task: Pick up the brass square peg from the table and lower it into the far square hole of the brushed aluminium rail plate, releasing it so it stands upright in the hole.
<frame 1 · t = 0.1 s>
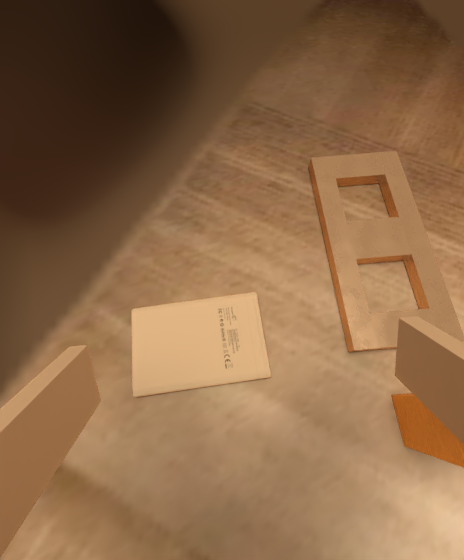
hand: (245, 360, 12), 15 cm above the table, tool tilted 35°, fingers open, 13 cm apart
rail plate: (371, 244, 31), on the table
external hard drive: (200, 343, 28), on the table
brass peg: (420, 417, 25), on the table
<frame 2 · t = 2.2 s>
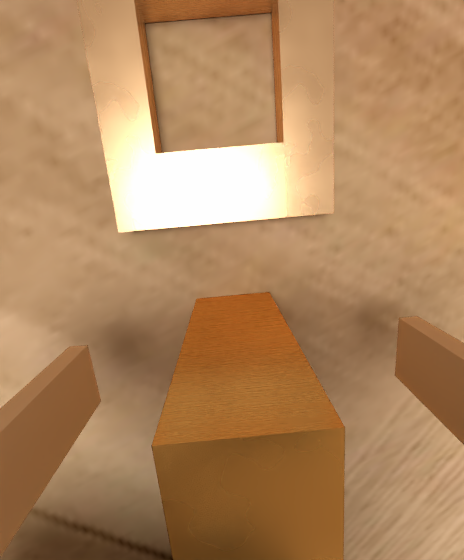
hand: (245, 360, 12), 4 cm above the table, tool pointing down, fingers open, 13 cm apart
brass peg: (235, 329, 16), on the table
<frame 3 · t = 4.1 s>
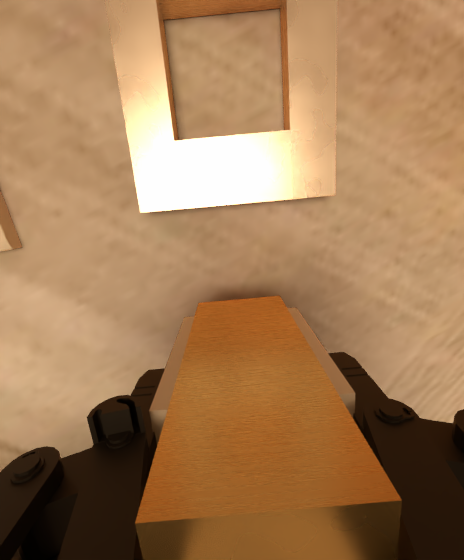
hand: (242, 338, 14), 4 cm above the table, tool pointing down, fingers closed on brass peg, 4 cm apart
brass peg: (242, 336, 14), point 3 cm above the table, touching gripper
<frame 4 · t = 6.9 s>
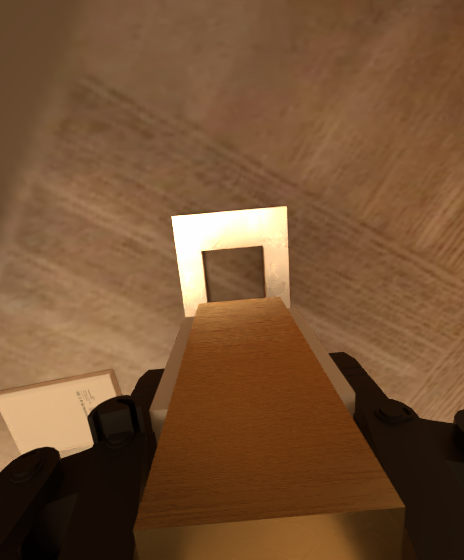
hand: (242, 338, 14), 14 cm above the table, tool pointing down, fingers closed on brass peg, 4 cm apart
rail plate: (238, 322, 29), on the table
external hard drive: (73, 407, 32), on the table
brass peg: (242, 337, 14), point 14 cm above the table, touching gripper
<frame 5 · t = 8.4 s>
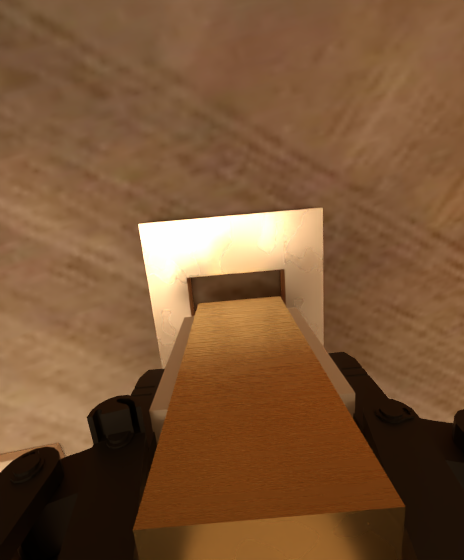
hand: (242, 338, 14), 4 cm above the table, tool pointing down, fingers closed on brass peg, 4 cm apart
rail plate: (244, 378, 19), on the table
external hard drive: (7, 491, 22), on the table
brass peg: (242, 337, 14), point 4 cm above the table, touching gripper
when the fingers open (3 cm above the table, at t = 9.7 s): brass peg drops 2 cm, resting in rail plate.
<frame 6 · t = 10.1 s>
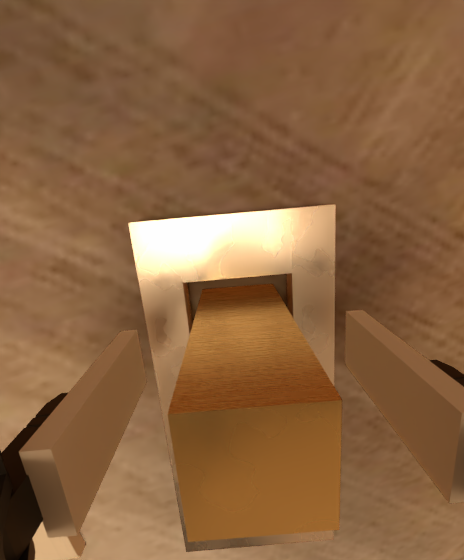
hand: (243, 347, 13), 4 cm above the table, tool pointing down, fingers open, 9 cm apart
rail plate: (246, 391, 18), on the table
brass peg: (240, 319, 17), resting in rail plate
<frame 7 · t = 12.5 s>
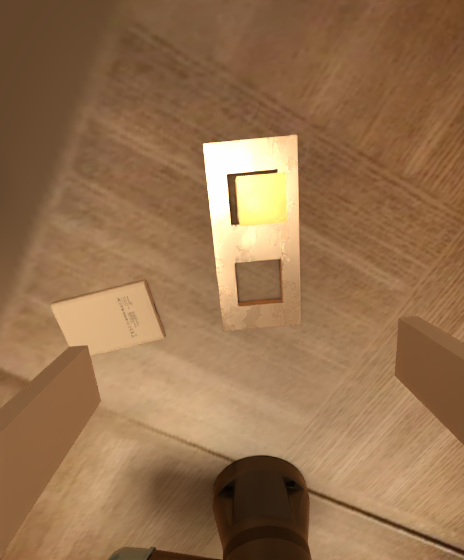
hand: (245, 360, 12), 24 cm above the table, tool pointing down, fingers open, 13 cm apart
rail plate: (255, 240, 34), on the table
external hard drive: (113, 317, 38), on the table
brass peg: (252, 198, 33), resting in rail plate
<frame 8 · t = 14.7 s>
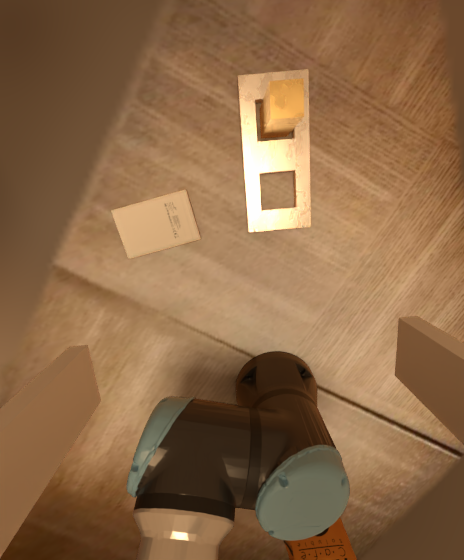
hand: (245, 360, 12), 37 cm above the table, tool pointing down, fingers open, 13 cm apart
coffee package: (303, 498, 62), on the table
rail plate: (275, 157, 44), on the table
external hard drive: (158, 224, 47), on the table
brass peg: (273, 123, 43), resting in rail plate
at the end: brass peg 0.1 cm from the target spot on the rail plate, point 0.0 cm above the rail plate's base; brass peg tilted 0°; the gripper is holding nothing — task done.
